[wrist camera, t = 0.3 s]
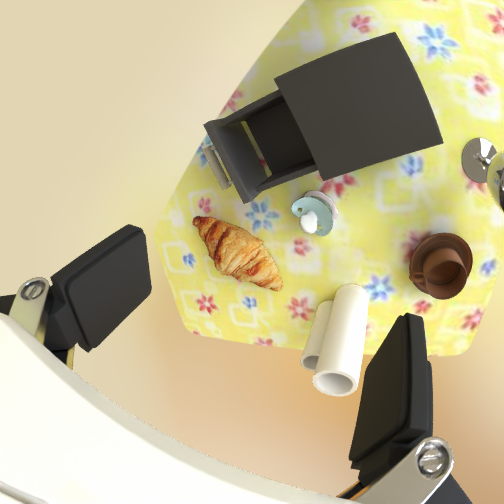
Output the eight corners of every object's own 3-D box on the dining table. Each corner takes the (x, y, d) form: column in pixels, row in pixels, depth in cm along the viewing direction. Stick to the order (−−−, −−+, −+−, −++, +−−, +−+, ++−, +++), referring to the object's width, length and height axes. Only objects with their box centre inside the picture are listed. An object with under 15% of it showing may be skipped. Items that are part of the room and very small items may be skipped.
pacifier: (313, 181, 43) (289, 206, 47) (305, 191, 38) (280, 219, 42) (346, 212, 44) (322, 235, 47) (344, 226, 39) (316, 252, 42)
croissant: (297, 265, 56) (301, 274, 48) (265, 303, 58) (264, 317, 50) (213, 199, 55) (203, 197, 48) (184, 238, 57) (170, 243, 49)
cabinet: (332, 163, 41) (323, 181, 32) (294, 84, 36) (273, 78, 28) (425, 133, 33) (443, 143, 24) (388, 48, 28) (395, 31, 20)
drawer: (243, 194, 48) (219, 213, 41) (210, 130, 44) (180, 139, 37) (347, 155, 38) (343, 167, 31) (312, 79, 34) (298, 73, 27)
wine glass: (493, 130, 27) (543, 148, 15) (504, 179, 29) (549, 215, 17) (453, 141, 31) (492, 162, 19) (466, 190, 33) (502, 231, 22)
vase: (350, 277, 49) (333, 363, 33) (377, 299, 49) (369, 387, 33) (312, 310, 56) (283, 390, 40) (338, 329, 56) (317, 410, 40)
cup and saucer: (422, 298, 45) (425, 320, 40) (397, 247, 43) (400, 267, 38) (476, 272, 38) (485, 292, 33) (457, 216, 36) (468, 232, 31)
